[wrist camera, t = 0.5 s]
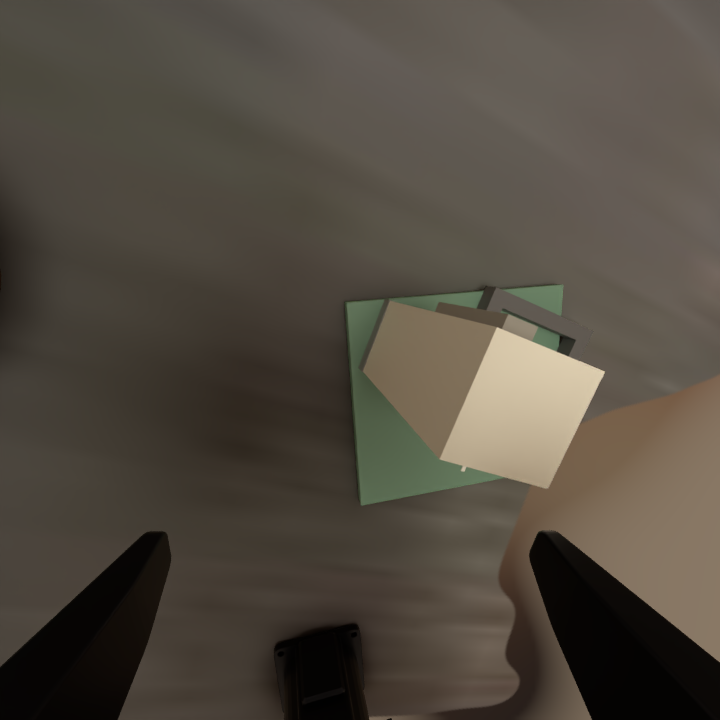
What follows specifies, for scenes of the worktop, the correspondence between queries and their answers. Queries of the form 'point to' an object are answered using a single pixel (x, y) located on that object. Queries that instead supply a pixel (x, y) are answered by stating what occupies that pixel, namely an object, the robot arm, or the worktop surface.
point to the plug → (480, 387)
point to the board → (391, 431)
